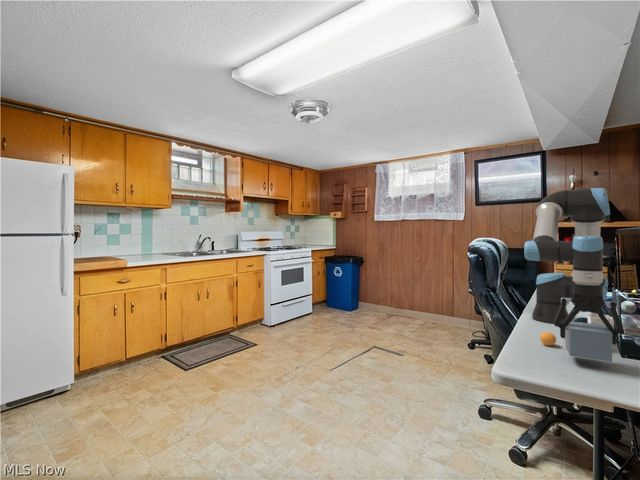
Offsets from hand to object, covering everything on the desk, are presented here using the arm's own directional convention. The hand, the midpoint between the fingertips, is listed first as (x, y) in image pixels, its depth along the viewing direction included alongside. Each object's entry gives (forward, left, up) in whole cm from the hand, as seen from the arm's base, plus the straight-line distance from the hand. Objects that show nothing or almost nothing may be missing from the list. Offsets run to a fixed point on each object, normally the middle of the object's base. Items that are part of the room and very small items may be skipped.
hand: (587, 350), depth 104 cm
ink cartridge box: (-22, +7, -4) cm, 23 cm away
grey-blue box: (0, 0, -1) cm, 1 cm away
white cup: (-30, +9, -4) cm, 31 cm away
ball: (-15, -9, -2) cm, 17 cm away
